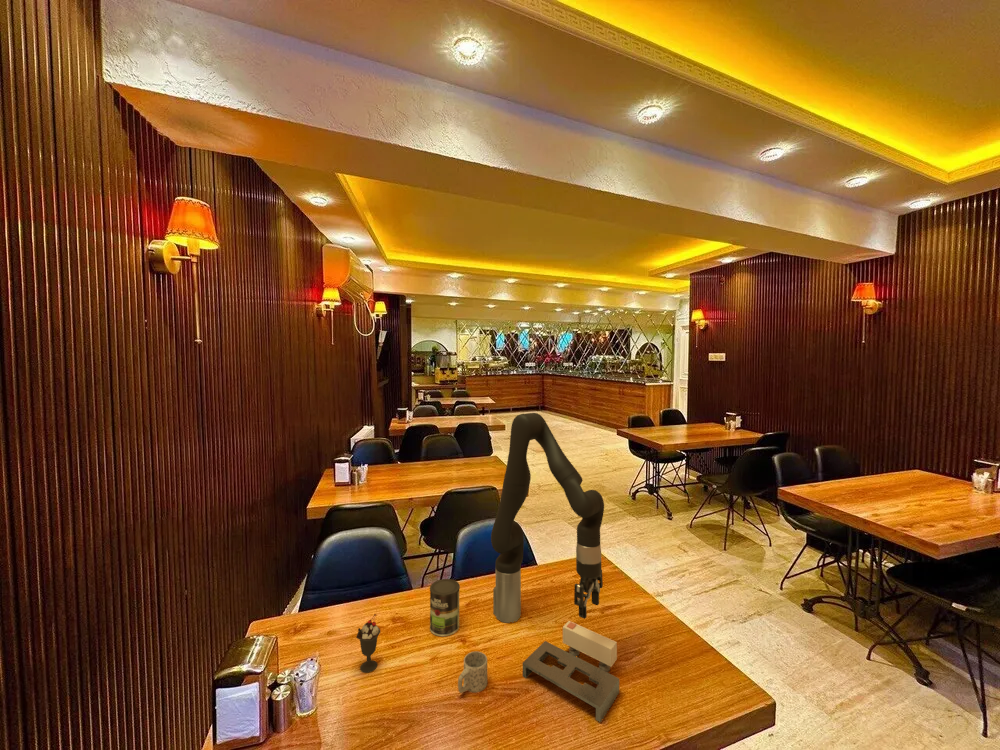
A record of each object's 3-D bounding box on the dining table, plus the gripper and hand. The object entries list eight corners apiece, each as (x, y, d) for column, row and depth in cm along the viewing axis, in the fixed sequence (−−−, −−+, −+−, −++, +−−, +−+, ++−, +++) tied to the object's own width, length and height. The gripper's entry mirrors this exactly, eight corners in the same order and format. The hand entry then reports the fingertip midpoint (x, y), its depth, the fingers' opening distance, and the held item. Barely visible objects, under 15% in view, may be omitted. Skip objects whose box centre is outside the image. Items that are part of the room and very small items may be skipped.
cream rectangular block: (562, 652, 122) (562, 625, 122) (569, 645, 126) (569, 619, 126) (611, 677, 112) (611, 648, 112) (616, 669, 115) (616, 640, 115)
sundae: (385, 661, 119) (385, 612, 119) (370, 677, 112) (370, 625, 112) (367, 656, 121) (366, 608, 121) (352, 671, 114) (352, 620, 114)
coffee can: (450, 640, 128) (450, 597, 128) (423, 632, 132) (423, 590, 132) (465, 621, 138) (464, 581, 138) (439, 615, 142) (439, 576, 142)
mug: (474, 670, 115) (474, 648, 115) (492, 681, 111) (492, 658, 111) (450, 691, 107) (450, 667, 107) (467, 704, 103) (467, 679, 103)
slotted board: (522, 676, 113) (522, 662, 113) (545, 653, 122) (545, 640, 122) (600, 723, 97) (600, 707, 97) (619, 693, 107) (619, 678, 107)
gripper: (588, 546, 127) (588, 596, 127) (566, 562, 116) (566, 617, 116) (609, 552, 122) (610, 604, 122) (589, 570, 111) (589, 627, 111)
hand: (589, 610), depth 119 cm, fingers open, 8 cm apart
